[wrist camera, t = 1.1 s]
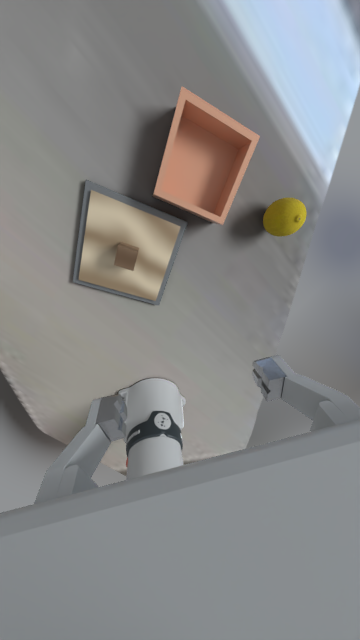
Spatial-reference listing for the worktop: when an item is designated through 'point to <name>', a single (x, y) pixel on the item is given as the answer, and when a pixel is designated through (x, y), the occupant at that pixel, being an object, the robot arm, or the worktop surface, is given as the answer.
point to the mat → (135, 204)
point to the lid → (125, 247)
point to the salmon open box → (203, 159)
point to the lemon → (284, 217)
